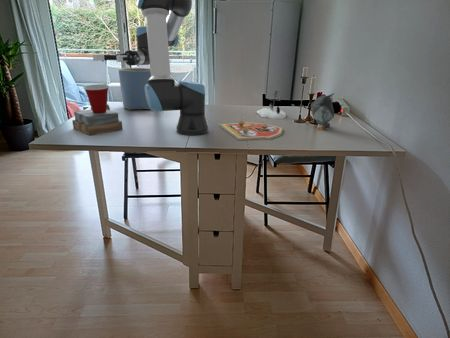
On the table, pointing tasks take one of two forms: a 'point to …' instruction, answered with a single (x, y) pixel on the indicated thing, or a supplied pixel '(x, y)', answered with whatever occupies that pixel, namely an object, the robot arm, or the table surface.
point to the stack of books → (96, 122)
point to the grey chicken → (322, 111)
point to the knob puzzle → (251, 130)
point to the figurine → (272, 110)
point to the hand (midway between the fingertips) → (105, 58)
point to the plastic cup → (97, 97)
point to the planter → (134, 87)
